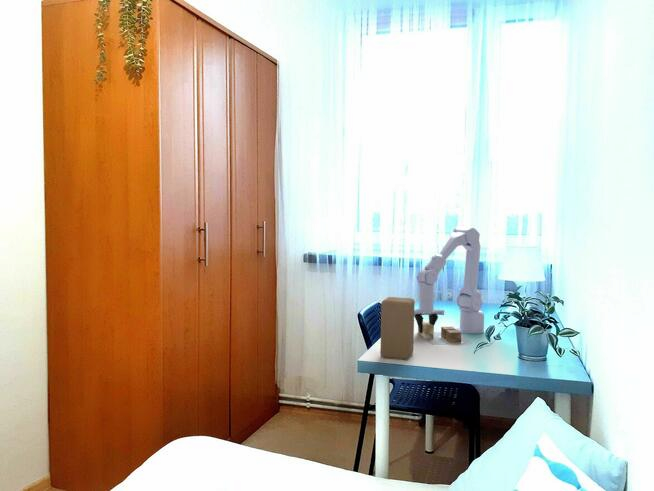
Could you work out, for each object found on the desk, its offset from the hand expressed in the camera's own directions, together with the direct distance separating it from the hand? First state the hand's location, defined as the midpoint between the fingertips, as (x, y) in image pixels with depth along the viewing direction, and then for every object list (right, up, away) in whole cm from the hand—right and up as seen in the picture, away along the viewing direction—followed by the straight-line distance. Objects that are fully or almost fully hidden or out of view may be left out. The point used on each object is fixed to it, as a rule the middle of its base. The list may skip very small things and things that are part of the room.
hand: (425, 332), depth 229 cm
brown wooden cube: (+9, -2, -3) cm, 9 cm away
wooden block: (-15, -4, -30) cm, 34 cm away
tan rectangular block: (0, -1, 0) cm, 1 cm away
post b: (+9, -2, -9) cm, 13 cm away
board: (+7, -2, -4) cm, 8 cm away
